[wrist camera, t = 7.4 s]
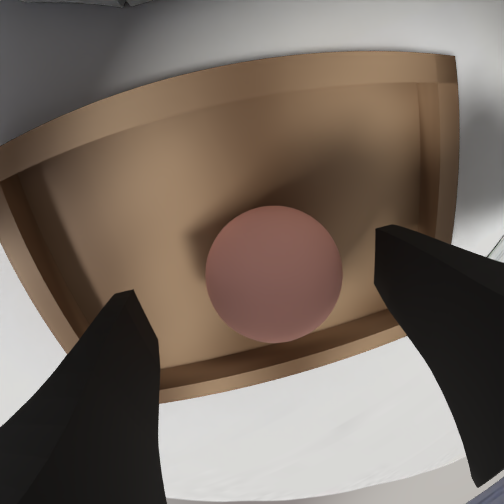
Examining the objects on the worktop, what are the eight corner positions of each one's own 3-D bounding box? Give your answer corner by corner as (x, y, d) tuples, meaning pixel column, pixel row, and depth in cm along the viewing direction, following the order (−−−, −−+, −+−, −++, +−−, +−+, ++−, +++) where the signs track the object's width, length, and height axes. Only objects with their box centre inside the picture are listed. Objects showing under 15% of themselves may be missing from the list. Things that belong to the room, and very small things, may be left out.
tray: (116, 375, 15) (111, 409, 13) (1, 148, 9) (-31, 164, 7) (412, 298, 16) (434, 324, 14) (417, 54, 9) (455, 56, 8)
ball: (209, 312, 12) (252, 392, 8) (175, 213, 10) (214, 279, 6) (303, 272, 13) (368, 331, 9) (290, 175, 11) (371, 214, 7)
